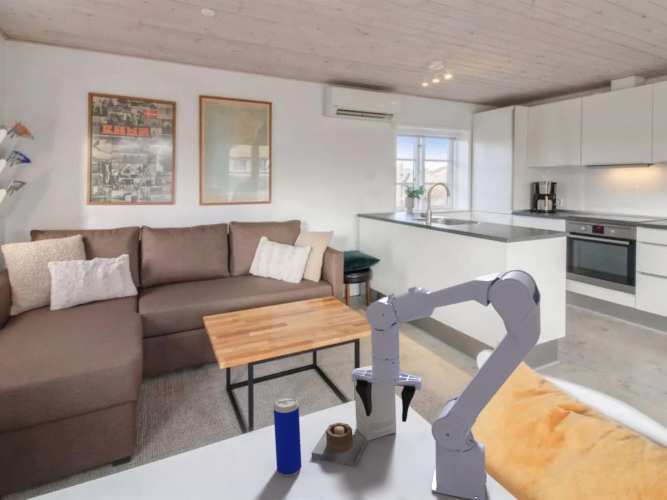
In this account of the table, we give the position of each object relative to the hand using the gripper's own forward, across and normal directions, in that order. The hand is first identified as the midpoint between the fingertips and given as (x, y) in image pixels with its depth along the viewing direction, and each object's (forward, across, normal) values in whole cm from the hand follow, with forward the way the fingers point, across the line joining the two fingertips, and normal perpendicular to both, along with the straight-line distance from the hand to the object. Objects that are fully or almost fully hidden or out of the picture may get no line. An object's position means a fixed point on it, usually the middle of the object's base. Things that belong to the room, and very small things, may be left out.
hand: (386, 416), depth 85 cm
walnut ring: (+9, +11, 0) cm, 14 cm away
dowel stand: (+10, +11, 0) cm, 15 cm away
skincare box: (+10, +5, -10) cm, 15 cm away
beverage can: (+10, +19, +9) cm, 23 cm away
